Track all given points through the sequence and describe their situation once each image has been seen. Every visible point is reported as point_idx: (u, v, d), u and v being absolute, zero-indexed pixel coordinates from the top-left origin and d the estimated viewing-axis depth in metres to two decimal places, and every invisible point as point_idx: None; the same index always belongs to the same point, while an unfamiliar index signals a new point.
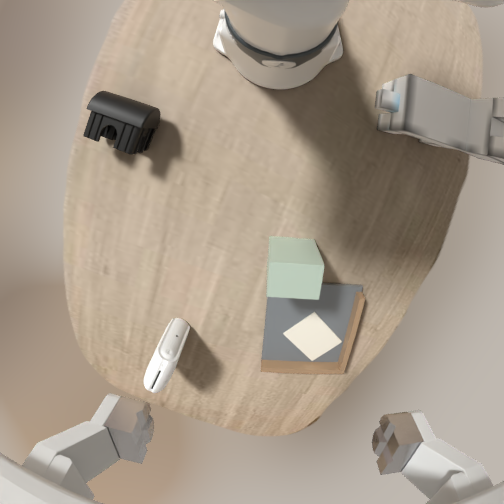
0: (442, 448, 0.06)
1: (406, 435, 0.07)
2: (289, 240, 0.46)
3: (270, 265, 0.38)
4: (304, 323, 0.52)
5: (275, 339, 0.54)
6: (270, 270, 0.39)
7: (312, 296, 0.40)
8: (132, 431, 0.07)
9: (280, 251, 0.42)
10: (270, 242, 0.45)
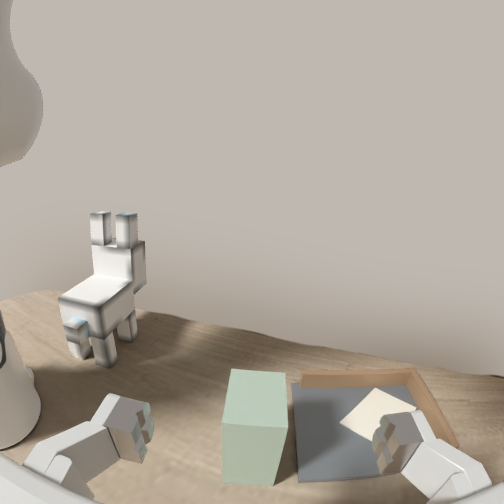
0: (442, 448, 0.06)
1: (406, 435, 0.07)
2: None
3: (228, 421, 0.20)
4: (361, 429, 0.29)
5: None
6: (237, 422, 0.20)
7: (280, 378, 0.26)
8: (132, 431, 0.07)
9: None
10: None
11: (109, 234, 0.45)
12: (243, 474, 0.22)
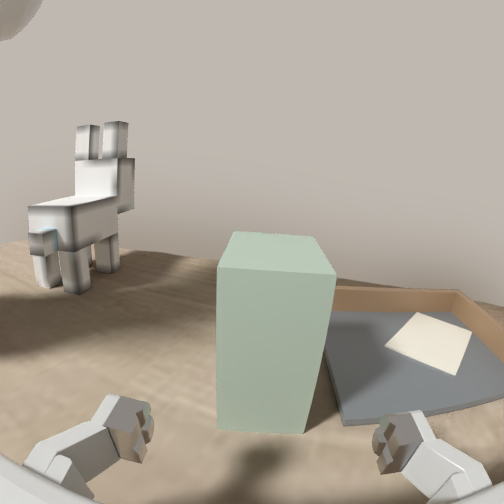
0: (442, 448, 0.06)
1: (406, 435, 0.07)
2: None
3: (229, 266, 0.13)
4: (415, 352, 0.22)
5: (475, 382, 0.17)
6: (245, 267, 0.13)
7: (307, 239, 0.18)
8: (132, 431, 0.07)
9: None
10: None
11: (96, 149, 0.38)
12: (254, 407, 0.15)
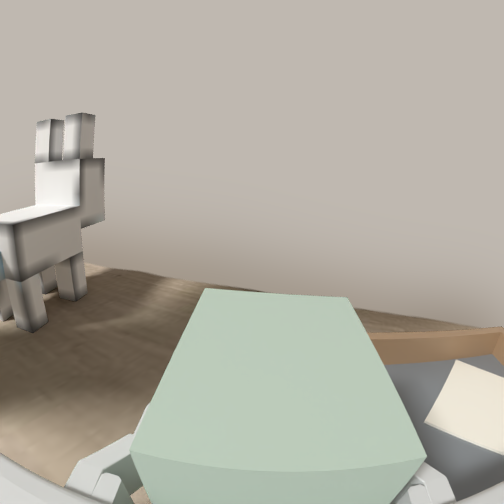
0: None
1: None
2: None
3: (159, 449, 0.04)
4: (461, 428, 0.13)
5: None
6: (202, 455, 0.04)
7: (339, 307, 0.10)
8: None
9: None
10: None
11: (58, 149, 0.29)
12: None
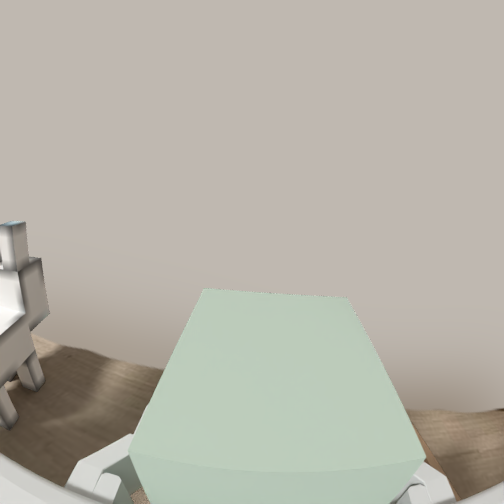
0: None
1: None
2: None
3: (158, 450, 0.04)
4: None
5: None
6: (200, 455, 0.04)
7: (338, 307, 0.10)
8: None
9: None
10: None
11: None
12: None
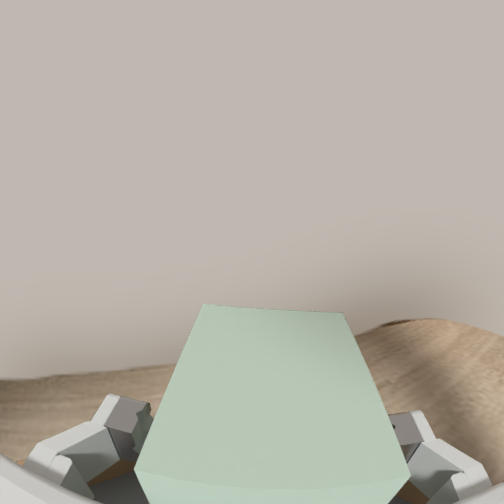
0: (442, 448, 0.06)
1: (406, 435, 0.07)
2: None
3: (161, 468, 0.04)
4: None
5: None
6: (201, 473, 0.04)
7: (334, 323, 0.10)
8: (132, 431, 0.07)
9: None
10: None
11: None
12: None
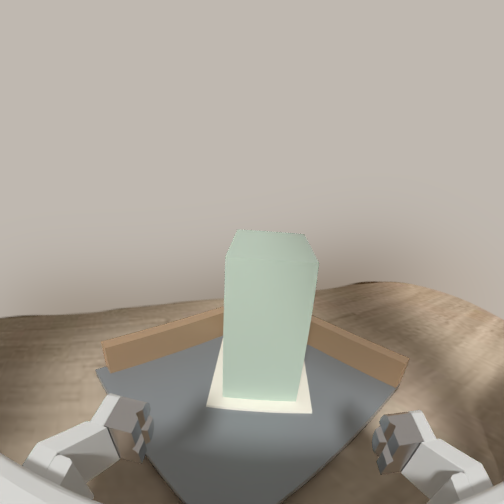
0: (442, 449, 0.06)
1: (406, 435, 0.07)
2: None
3: (234, 256, 0.16)
4: (248, 401, 0.19)
5: (340, 410, 0.18)
6: (247, 257, 0.16)
7: (298, 236, 0.22)
8: (132, 431, 0.07)
9: None
10: (223, 362, 0.18)
11: None
12: (254, 375, 0.18)
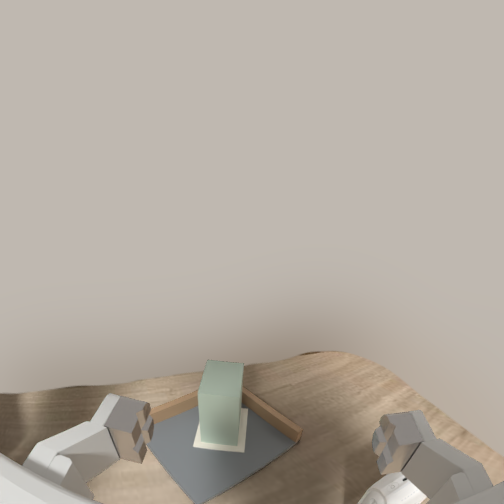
0: (442, 448, 0.06)
1: (406, 435, 0.07)
2: None
3: (201, 392, 0.33)
4: (213, 445, 0.35)
5: (259, 452, 0.35)
6: (207, 393, 0.33)
7: (239, 366, 0.39)
8: (132, 431, 0.07)
9: None
10: (200, 428, 0.35)
11: None
12: (215, 434, 0.35)
